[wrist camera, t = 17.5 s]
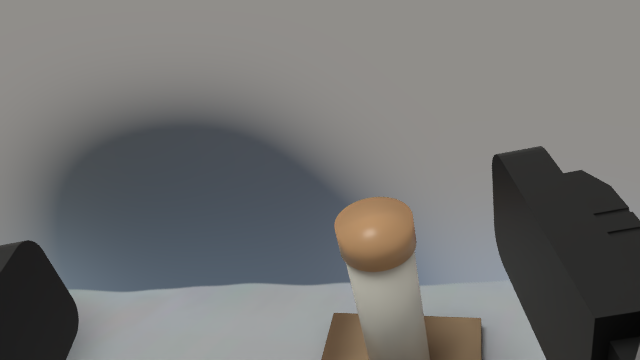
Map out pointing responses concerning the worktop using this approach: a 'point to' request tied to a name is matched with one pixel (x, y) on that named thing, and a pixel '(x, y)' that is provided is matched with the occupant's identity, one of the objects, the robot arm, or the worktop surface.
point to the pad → (442, 334)
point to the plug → (384, 277)
